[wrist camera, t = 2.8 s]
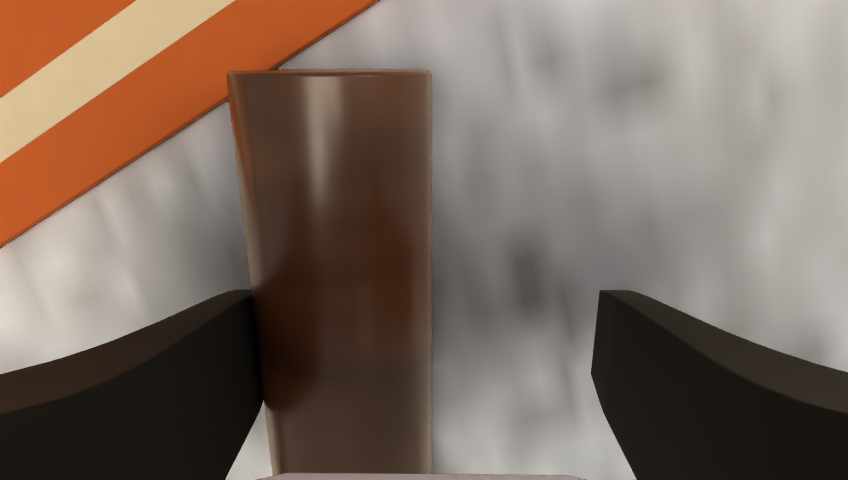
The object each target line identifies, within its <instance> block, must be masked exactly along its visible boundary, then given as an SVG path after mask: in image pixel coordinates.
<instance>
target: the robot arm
mask: <svg viewBox="0 0 848 480" xmlns="http://www.w3.org/2000/svg"><path fill="white" fill-rule="evenodd" d="M591 376H592V379H593V382H594V385H595V389H596V392H597V395H598V398H599V401H600V404H601V407H602V410H603V412H604V415H605V417H606V419H607V421H608V423H609V425H610V427H611V429H612V431H613V433H614V435H615V437H616V439H617V441H618V443H619V445H620V447H621V449H622V451H623V453H624V455H625V457H626V459H627V461H628V463H629V465H630V467H631V469H632V471H633V473H634V475H635V477H636V479H637V480H848V372H844V371H840V370H836V369H833V368H829V367H826V366H822V365H819V364H815V363H812V362H809V361H806V360H803V359H800V358H797V357H794V356H791V355H787V354H784V353H781V352H778V351H775V350H772V349H770V348H767V347H764V346H761V345H759V344H756V343H754V342H751V341H749V340H746V339H744V338H741V337H739V336H736V335H734V334H731V333H729V332H726V331H724V330H721V329H719V328H717V327H715V326H712V325H710V324H708V323H705V322H703V321H701V320H699V319H697V318H694V317H692V316H690V315H688V314H686V313H683V312H681V311H679V310H677V309H675V308H673V307H670V306H668V305H666V304H664V303H662V302H659V301H657V300H655V299H652V298H650V297H648V296H645V295H643V294H640V293H637V292H634V291H630V290H600V293H599V303H598V312H597V321H596V331H595V340H594V349H593V359H592V368H591ZM263 400H264V396H263V387H262V379H261V370H260V362H259V353H258V344H257V336H256V327H255V319H254V310H253V301H252V293H251V290H232V291H229V292H225V293H223V294H220V295H217V296H215V297H213V298H210V299H208V300H206V301H203V302H201V303H199V304H197V305H194V306H192V307H190V308H188V309H186V310H183V311H181V312H179V313H177V314H175V315H172V316H170V317H168V318H166V319H164V320H161V321H159V322H157V323H154V324H152V325H149V326H147V327H145V328H142V329H140V330H137V331H135V332H133V333H130V334H128V335H125V336H123V337H121V338H118V339H116V340H113V341H110V342H108V343H105V344H102V345H99V346H97V347H94V348H91V349H88V350H85V351H82V352H79V353H76V354H73V355H70V356H67V357H63V358H60V359H57V360H53V361H50V362H46V363H42V364H39V365H35V366H31V367H27V368H23V369H20V370H16V371H12V372H8V373H4V374H0V480H225V478H226V476H227V474H228V472H229V470H230V469H231V467H232V465H233V463H234V461H235V459H236V457H237V455H238V453H239V451H240V449H241V447H242V445H243V443H244V441H245V439H246V437H247V435H248V433H249V431H250V429H251V427H252V425H253V423H254V422H255V419H256V417H257V415H258V413H259V411H260V409H261V406H262V403H263ZM257 480H586V479H581V478H577V477H573V476H568V475H494V474H359V473H284V474H280V475H275V476H271V477H266V478H261V479H257Z"/></svg>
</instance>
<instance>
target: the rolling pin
mask: <svg viewBox="0 0 848 480" xmlns="http://www.w3.org/2000/svg"><path fill="white" fill-rule="evenodd" d="M226 78H227V87H228V95H229V104H230V112H231V121H232V130H233V138H234V147H235V155H236V164H237V173H238V181H239V190H240V198H241V207H242V216H243V224H244V233H245V241H246V250H247V259H248V267H249V276H250V284H251V293H252V301H253V310H254V319H255V327H256V336H257V344H258V353H259V362H260V370H261V379H262V387H263V396H264V405H265V413H266V422H267V430H268V439H269V448H270V456H271V465H272V473H273V476H275V475H280V474H284V473H359V474H432V74H431V71H429V70H420V69H313V70H246V71H230V72H228V73H227V75H226Z"/></svg>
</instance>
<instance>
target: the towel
mask: <svg viewBox="0 0 848 480" xmlns="http://www.w3.org/2000/svg"><path fill="white" fill-rule="evenodd" d="M378 1H380V0H0V248H1V247H3V246H4V245H6V244H7V243H9V242H10V241H12V240H13V239H15V238H16V237H18V236H19V235H21V234H23V233H24V232H26V231H27V230H29V229H30V228H32V227H33V226H35V225H36V224H38V223H39V222H41V221H42V220H44V219H46V218H47V217H49V216H50V215H52V214H53V213H55V212H56V211H58V210H59V209H61V208H62V207H64V206H65V205H67V204H69V203H70V202H72V201H73V200H75V199H76V198H78V197H79V196H81V195H82V194H84V193H85V192H87V191H88V190H90V189H92V188H93V187H95V186H96V185H98V184H99V183H101V182H102V181H104V180H105V179H107V178H108V177H110V176H111V175H113V174H115V173H116V172H118V171H119V170H121V169H122V168H124V167H125V166H127V165H128V164H130V163H131V162H133V161H134V160H136V159H138V158H139V157H141V156H142V155H144V154H145V153H147V152H148V151H150V150H151V149H153V148H154V147H156V146H157V145H159V144H161V143H162V142H164V141H165V140H167V139H168V138H170V137H171V136H173V135H174V134H176V133H177V132H179V131H180V130H182V129H184V128H185V127H187V126H188V125H190V124H191V123H193V122H194V121H196V120H197V119H199V118H200V117H202V116H203V115H205V114H207V113H208V112H210V111H211V110H213V109H214V108H216V107H217V106H219V105H220V104H222V103H223V102H225V101H226V100H228V99H229V95H228V87H227V78H226V75H227V73H228V72H230V71H246V70H274V69H276V68H277V67H279V66H280V65H282V64H283V63H285V62H286V61H288V60H289V59H291V58H292V57H294V56H295V55H297V54H299V53H300V52H302V51H303V50H305V49H306V48H308V47H309V46H311V45H312V44H314V43H315V42H317V41H318V40H320V39H322V38H323V37H325V36H326V35H328V34H329V33H331V32H332V31H334V30H335V29H337V28H338V27H340V26H341V25H343V24H345V23H346V22H348V21H349V20H351V19H352V18H354V17H355V16H357V15H358V14H360V13H361V12H363V11H364V10H366V9H368V8H369V7H371V6H372V5H374V4H375V3H377V2H378Z"/></svg>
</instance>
